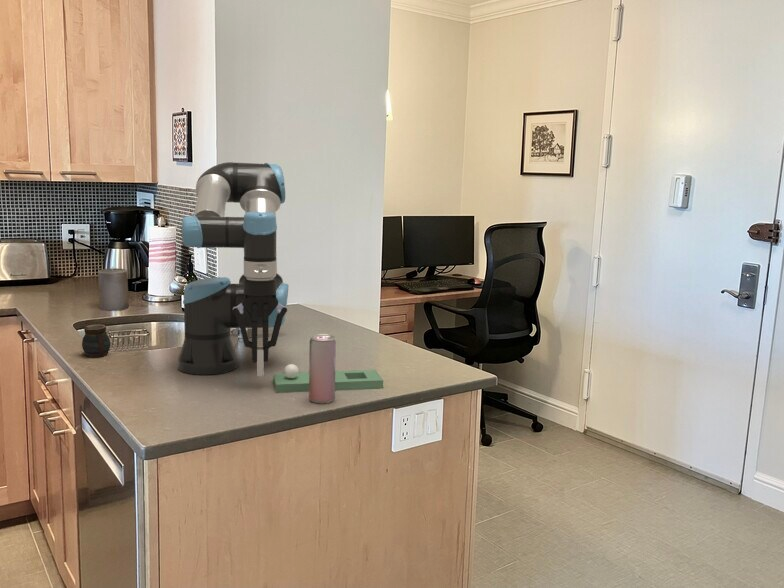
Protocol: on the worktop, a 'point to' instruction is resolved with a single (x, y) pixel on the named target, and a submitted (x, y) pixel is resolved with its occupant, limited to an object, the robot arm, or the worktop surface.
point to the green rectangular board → (342, 381)
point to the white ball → (291, 371)
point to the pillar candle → (113, 289)
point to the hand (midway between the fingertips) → (260, 374)
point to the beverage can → (322, 368)
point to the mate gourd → (95, 340)
